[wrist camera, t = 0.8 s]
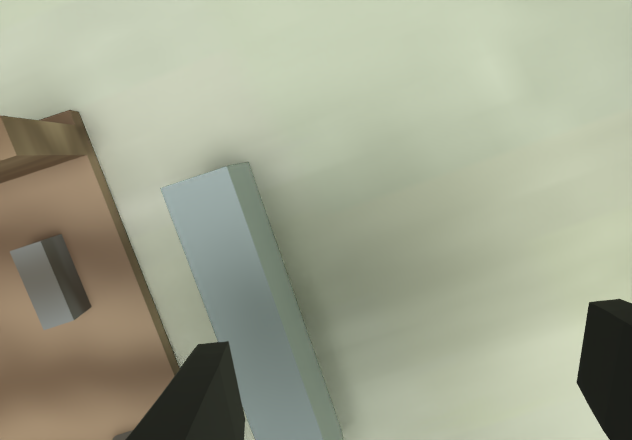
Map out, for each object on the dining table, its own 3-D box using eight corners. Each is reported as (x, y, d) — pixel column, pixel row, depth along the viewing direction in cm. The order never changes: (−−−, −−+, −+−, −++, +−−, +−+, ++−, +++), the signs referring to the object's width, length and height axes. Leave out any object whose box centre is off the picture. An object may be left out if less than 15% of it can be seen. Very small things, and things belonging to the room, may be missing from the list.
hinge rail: (249, 546, 28) (234, 676, 21) (53, 611, 28) (-26, 761, 21) (78, 111, 24) (-9, 95, 17) (-147, 186, 24) (-323, 200, 17)
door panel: (342, 431, 27) (360, 543, 20) (283, 450, 27) (278, 570, 20) (248, 162, 25) (226, 166, 17) (185, 183, 25) (133, 197, 17)
